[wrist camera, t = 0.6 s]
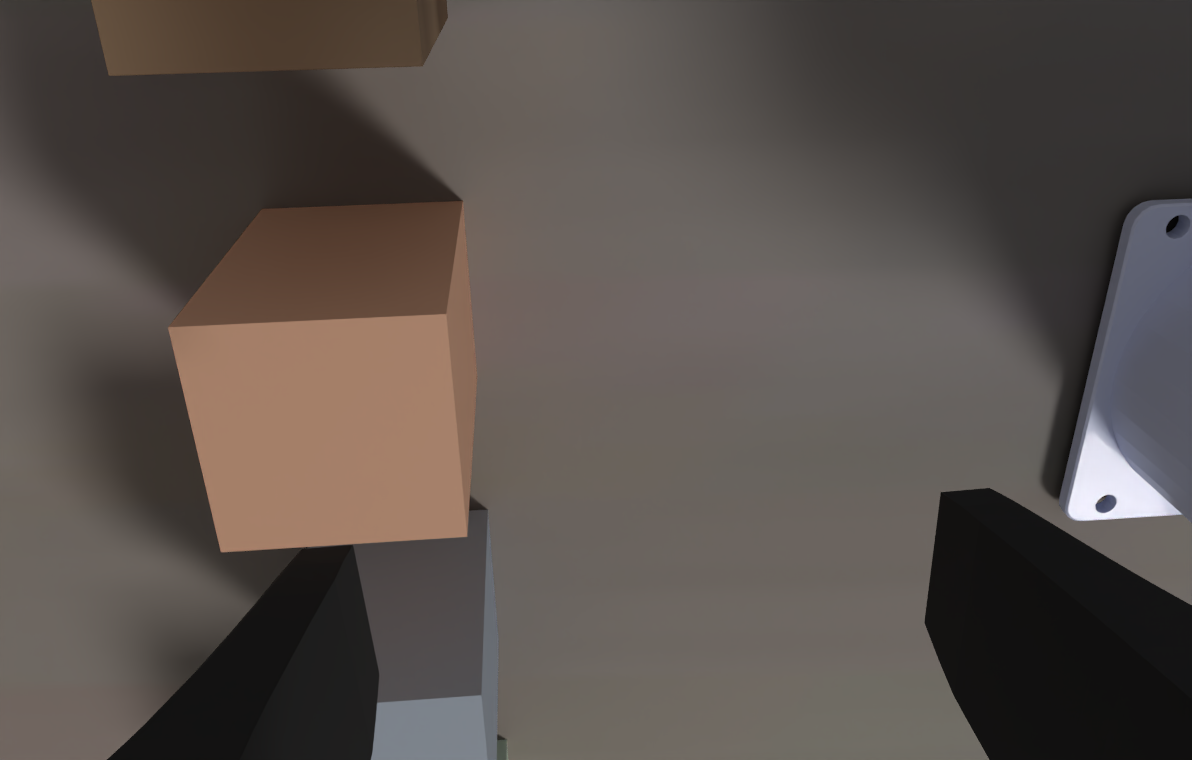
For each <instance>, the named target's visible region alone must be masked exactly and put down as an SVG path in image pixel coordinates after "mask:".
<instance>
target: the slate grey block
mask: <svg viewBox="0 0 1192 760" xmlns="http://www.w3.org/2000/svg"><path fill="white" fill-rule="evenodd" d="M346 545H353V547H354V552H355V556H356V561H357V566H358V571H359V576H360V581H361V586H362V591H363V596H364V601H365V605H366V610H367V615H368V620H369V625H370V630H371V635H372V640H373V645H374V650H375V655H376V659H377V664H378V669H379V686H378V699H377V711H376V722H375V732H374V742H373V752H372V757H371V760H497V711H498V642H499V640H498V627H497V615H496V603H495V590H494V578H493V566H492V554H491V541H490V529H489V517H488V510H472V511H469V517H468V533H467V537H457V538H441V539H425V540H409V541H393V542H378V543H362V544H346ZM331 546H342V545H330V546H314V547H308V549H309V548H320V547H331Z"/></svg>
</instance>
